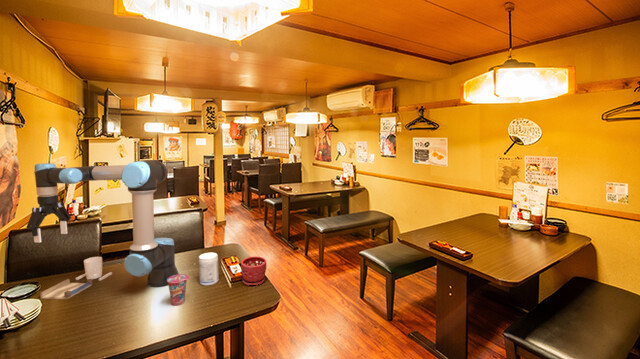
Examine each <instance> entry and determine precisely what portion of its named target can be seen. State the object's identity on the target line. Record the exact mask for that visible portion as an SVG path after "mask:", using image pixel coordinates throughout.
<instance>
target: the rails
mask: <svg viewBox="0 0 640 359" xmlns="http://www.w3.org/2000/svg"><path fill="white" fill-rule="evenodd" d="M111 275H113V272H112V271H110V272H108V273H106V274H104V275H102V276H101V277H99V278H98V281H99V282H100V281H102V280H105V279H106V278H108V277H110V276H111ZM85 277H86V273H85V272H84V273H83V274H81V275H79V276H77V277H75V280H76V281H79V280H80V279H83V278H85Z"/></svg>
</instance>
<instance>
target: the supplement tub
mask: <svg viewBox="0 0 640 359" xmlns="http://www.w3.org/2000/svg"><path fill="white" fill-rule="evenodd" d="M198 272H199V276H198V277H199V284H200V285H202V286H211V285H212V286H213V285H215V284H216V283H218V282H219V279H220V278H219V256H218V253H216V252H211V251H210V252H205V253H202V254H200V255H199V256H198Z"/></svg>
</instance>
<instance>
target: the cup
mask: <svg viewBox="0 0 640 359" xmlns="http://www.w3.org/2000/svg"><path fill="white" fill-rule="evenodd" d="M190 279H191V277H190V276H189V275H187V274H183V273H179V274H177V275H173V276H171V277H169V278H168V279H167V281H168V285H167V286H168V290H169V295H170V299H171V300H170V301H171V305H172V306H173V307H177V306H178V307H179V306H181V305H183V304H184V303H185V302H186V301H185V300H186V292H187V291H186V290H187V281H188V280H190Z"/></svg>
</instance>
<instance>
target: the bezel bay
mask: <svg viewBox="0 0 640 359" xmlns="http://www.w3.org/2000/svg"><path fill="white" fill-rule="evenodd" d="M93 280H94V279H87V280H86V283H85V282H84V283H83V282H70V279H69V278H67V279H65V280H62V281H61V282H59V283H57V284H55V285H53V286H51V287H49V288H47V289H45V290H43V291H41V292H39V294H40V299H51V300H53V299H55V300H69V299H70V298H72V297H74V296H75V295H78V294H79V293H81V292H82V291H84V290H86V289H87V288H90V287H91V286H93V284H94V281H93Z"/></svg>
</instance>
